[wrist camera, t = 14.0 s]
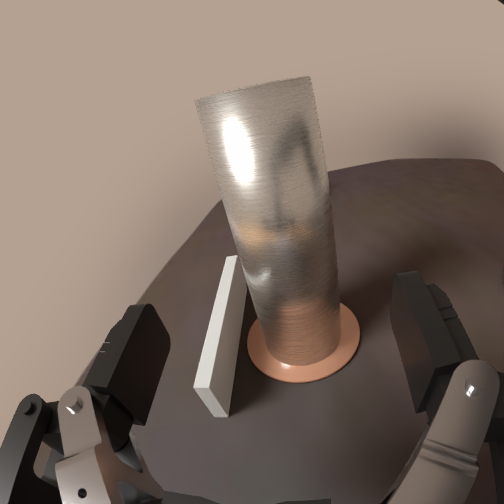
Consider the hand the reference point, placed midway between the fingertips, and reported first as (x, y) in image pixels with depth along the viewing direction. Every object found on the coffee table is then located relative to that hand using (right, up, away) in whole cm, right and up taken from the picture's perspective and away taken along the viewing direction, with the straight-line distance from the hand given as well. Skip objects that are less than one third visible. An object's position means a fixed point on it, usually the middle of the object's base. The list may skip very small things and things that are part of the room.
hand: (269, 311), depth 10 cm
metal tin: (+3, -5, +14) cm, 15 cm away
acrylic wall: (-2, -6, +15) cm, 16 cm away
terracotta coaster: (+3, -5, +14) cm, 15 cm away
